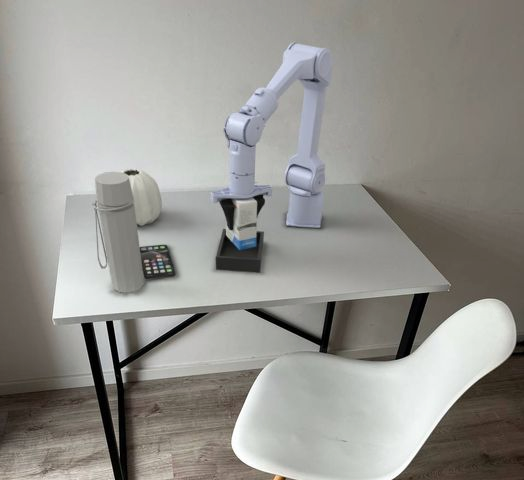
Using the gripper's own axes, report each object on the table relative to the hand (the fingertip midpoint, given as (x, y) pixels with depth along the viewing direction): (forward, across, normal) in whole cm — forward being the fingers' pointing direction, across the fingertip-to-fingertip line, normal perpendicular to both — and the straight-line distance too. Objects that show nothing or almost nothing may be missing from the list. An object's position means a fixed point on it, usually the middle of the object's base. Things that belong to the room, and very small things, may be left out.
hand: (241, 226), depth 124 cm
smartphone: (+8, +21, -3) cm, 22 cm away
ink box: (+4, 0, 0) cm, 4 cm away
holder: (+8, 0, 0) cm, 8 cm away
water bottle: (+8, +30, +4) cm, 31 cm away
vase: (+8, +20, -27) cm, 35 cm away
